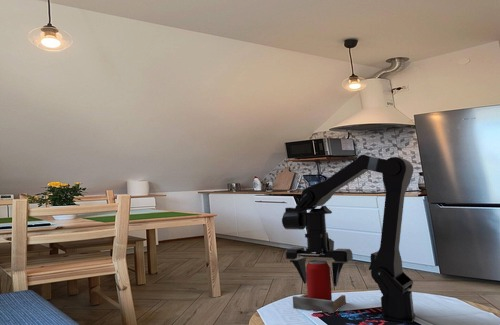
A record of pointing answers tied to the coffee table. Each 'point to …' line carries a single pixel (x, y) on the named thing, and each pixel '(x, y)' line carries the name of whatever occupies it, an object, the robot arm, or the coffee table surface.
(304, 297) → the guide channel
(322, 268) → the beverage can
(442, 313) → the coffee table surface
